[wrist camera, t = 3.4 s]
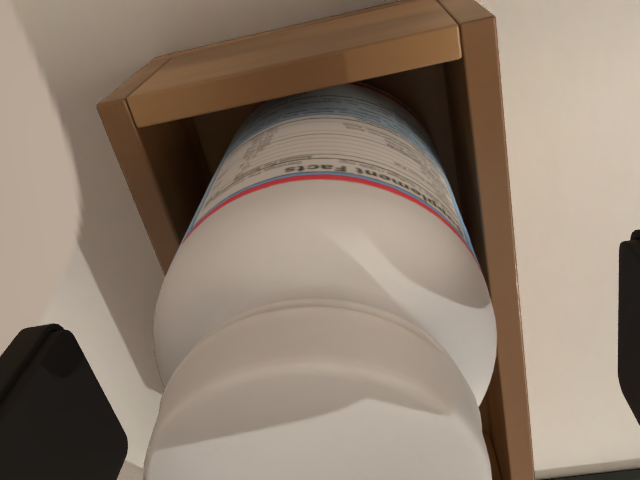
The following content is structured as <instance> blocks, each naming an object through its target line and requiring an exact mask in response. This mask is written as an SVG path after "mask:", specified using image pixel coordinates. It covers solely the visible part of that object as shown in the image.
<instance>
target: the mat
mask: <svg viewBox="0 0 640 480" xmlns="http://www.w3.org/2000/svg"><path fill="white" fill-rule="evenodd" d="M551 480H640V469H637V470H628V471H620V472H611V473H602V474H594V475H585V476H576V477H568V478H559V479H551Z"/></svg>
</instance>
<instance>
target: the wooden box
mask: <svg viewBox="0 0 640 480" xmlns="http://www.w3.org/2000/svg"><path fill="white" fill-rule="evenodd" d="M356 81H359V82H363V83H366V84H369V85H372V86H374V87H377V88H379V89H381V90H383V91H385V92H387V93H389V94H391V95H392V96H394V97H395V98H397V99H399V100H400V101H401V102H402V103H404V104H405V105H406V106H407V107H408V108H410V109H411V110H412V111H413V112H414V113H415V114H416V115H417V117H418V118H419V119H420V120H421V122H422V123H423V124H424V126H425V127H426V129H427V131H428V132H429V134H430V136H431V138H432V140H433V142H434V144H435V147H436V149H437V152H438V155H439V156H440V159H441V162H442V165H443V168H444V171H445V173H446V176H447V179H448V181H449V183H450V186H451V190H452V193H453V195H454V198H455V201H456V204H457V206H458V209H459V212H460V215H461V217H462V220H463V223H464V225H465V227H466V229H467V232H468V235H469V238H470V241H471V245H472V247H473V250H474V253H475V255H476V258H477V260H478V263H479V265H480V268H481V271H482V274H483V276H484V279H485V282H486V285H487V288H488V292H489V296H490V299H491V302H492V307H493V311H494V315H495V320H496V331H497V348H496V359H495V364H494V369H493V373H492V376H491V380H490V383H489V386H488V388H487V391H486V393H485V395H484V397H483V400H482V402H481V404H480V405H479V411H480V416H481V423H482V434H483V438H484V441H485V444H486V448H487V452H488V456H489V460H490V465H491V474H492V480H535V474H534V462H533V451H532V439H531V427H530V415H529V404H528V392H527V380H526V368H525V357H524V345H523V333H522V321H521V310H520V298H519V286H518V274H517V263H516V251H515V239H514V227H513V216H512V204H511V192H510V180H509V169H508V157H507V145H506V133H505V122H504V110H503V98H502V86H501V75H500V63H499V51H498V39H497V28H496V18H495V16H494V15H493V14H491V13H490V12H489V11H488V10H486V9H485V8H484V7H482V6H481V5H480V4H478V3H477V2H476V1H474V0H401V1H397V2H393V3H388V4H384V5H380V6H375V7H371V8H367V9H362V10H358V11H354V12H349V13H345V14H341V15H336V16H332V17H328V18H323V19H319V20H315V21H311V22H306V23H302V24H298V25H293V26H289V27H285V28H280V29H276V30H272V31H267V32H263V33H259V34H254V35H250V36H246V37H241V38H237V39H233V40H228V41H224V42H220V43H216V44H211V45H207V46H203V47H198V48H194V49H190V50H185V51H181V52H177V53H172V54H168V55H164V56H159V57H156V58H154V59H153V60H152V61H151V62H150V63H148V64H147V65H146V66H145V67H143V68H142V69H141V70H140V71H138V72H137V73H136V74H135V75H133V76H132V77H131V78H130V79H128V80H127V81H126V82H125V83H123V84H122V85H121V86H120V87H118V88H117V89H116V90H115V91H113V92H112V93H111V94H110V95H108V96H107V97H106V98H105V99H103V100H102V101H101V102H100V103H98V104H97V110H98V113H99V115H100V118H101V120H102V122H103V125H104V127H105V130H106V132H107V135H108V137H109V140H110V142H111V145H112V147H113V149H114V152H115V154H116V157H117V159H118V162H119V164H120V167H121V169H122V172H123V174H124V176H125V179H126V181H127V184H128V186H129V189H130V191H131V194H132V196H133V199H134V201H135V203H136V206H137V208H138V211H139V213H140V216H141V218H142V221H143V223H144V226H145V228H146V230H147V233H148V235H149V238H150V240H151V243H152V245H153V248H154V250H155V253H156V255H157V257H158V260H159V262H160V265H161V267H162V270H163V272H164V275H165V276H166V274H167V272H168V269H169V267H170V265H171V263H172V260H173V258H174V256H175V254H176V252H177V250H178V248H179V246H180V244H181V242H182V240H183V238H184V236H185V234H186V232H187V230H188V228H189V226H190V224H191V221H192V219H193V217H194V215H195V213H196V211H197V209H198V207H199V205H200V203H201V201H202V199H203V197H204V194H205V192H206V190H207V188H208V186H209V184H210V182H211V180H212V178H213V176H214V174H215V172H216V170H217V168H218V166H219V164H220V162H221V160H222V158H223V157H224V154H225V152H226V150H227V148H228V146H229V144H230V142H231V140H232V139H233V137H234V135H235V133H236V131H237V129H238V127H239V126H240V124H241V123H242V121H243V120H244V119H245V117H246V116H247V115H248V114H249V112H250V111H251V110H252V109H253V108H254V107H255V106H256V105H257V104H258V103H260V102H263V101H268V100H272V99H277V98H282V97H286V96H291V95H296V94H300V93H305V92H310V91H314V90H319V89H323V88H328V87H333V86H337V85H342V84H347V83H351V82H356Z"/></svg>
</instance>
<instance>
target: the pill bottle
mask: <svg viewBox="0 0 640 480" xmlns="http://www.w3.org/2000/svg"><path fill="white" fill-rule="evenodd" d="M153 340H154V353H155V357H156V362H157V367H158V370H159V373H160V376H161V380H162V383H163V385H164V387H165V391H164V393H163V396H162V399H161V403H160V409H159V414H158V417H157V420H156V423H155V426H154V429H153V432H152V436H151V439H150V442H149V445H148V448H147V452H146V457H145V461H144V475H143V480H492V474H491V465H490V460H489V456H488V452H487V448H486V444H485V441H484V438H483V434H482V423H481V416H480V411H479V405H480V404H481V402H482V400H483V397H484V395H485V393H486V391H487V388H488V386H489V383H490V380H491V376H492V373H493V369H494V364H495V359H496V348H497V331H496V320H495V315H494V311H493V307H492V302H491V299H490V296H489V292H488V288H487V285H486V282H485V279H484V276H483V274H482V271H481V268H480V265H479V263H478V260H477V258H476V255H475V253H474V250H473V247H472V245H471V241H470V238H469V235H468V232H467V229H466V227H465V225H464V223H463V220H462V217H461V215H460V212H459V209H458V206H457V204H456V201H455V198H454V195H453V193H452V190H451V186H450V183H449V181H448V179H447V176H446V173H445V171H444V168H443V165H442V162H441V159H440V156H439V155H438V152H437V149H436V147H435V144H434V142H433V140H432V138H431V136H430V134H429V132H428V131H427V129H426V127H425V126H424V124H423V123H422V122H421V120H420V119H419V118H418V117H417V115H416V114H415V113H414V112H413V111H412V110H411V109H410V108H408V107H407V106H406V105H405V104H404V103H402V102H401V101H400V100H399V99H397V98H395V97H394V96H392V95H391V94H389V93H387V92H385V91H383V90H381V89H379V88H377V87H374V86H372V85H369V84H366V83H363V82H359V81H356V82H351V83H347V84H342V85H337V86H333V87H328V88H323V89H319V90H314V91H310V92H305V93H300V94H296V95H291V96H286V97H282V98H277V99H272V100H268V101H263V102H260V103H258V104H257V105H256V106H255V107H254V108H253V109H252V110H251V111H250V112H249V114H248V115H247V116H246V117H245V119H244V120H243V121H242V123H241V124H240V126H239V127H238V129H237V131H236V133H235V135H234V137H233V139H232V140H231V142H230V144H229V146H228V148H227V150H226V152H225V154H224V157H223V158H222V160H221V162H220V164H219V166H218V168H217V170H216V172H215V174H214V176H213V178H212V180H211V182H210V184H209V186H208V188H207V190H206V192H205V194H204V197H203V199H202V201H201V203H200V205H199V207H198V209H197V211H196V213H195V215H194V217H193V219H192V221H191V224H190V226H189V228H188V230H187V232H186V234H185V236H184V238H183V240H182V242H181V244H180V246H179V248H178V250H177V252H176V254H175V256H174V258H173V260H172V263H171V265H170V267H169V269H168V272H167V274H166V276H165V279H164V282H163V284H162V286H161V290H160V293H159V296H158V300H157V303H156V310H155V316H154V326H153Z"/></svg>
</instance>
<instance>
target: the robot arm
mask: <svg viewBox="0 0 640 480" xmlns="http://www.w3.org/2000/svg"><path fill="white" fill-rule="evenodd" d="M618 378H619V383H620V387H621V390H622V392H623V395H624V397H625V399H626V401H627V402H628V404H629V406H630V408H631V410H632V412H633V414H634V416H635V418H636V419H637V421H638V423H639V425H640V230H635V231H634V232H632V235H631V239H630V241H623V242H622V243H621V244H620V247H619V309H618ZM127 450H128V441H127V436H126V434H125V432H124V430H123V428H122V426H121V424H120V422H119V420H118V418H117V417H116V415H115V413H114V411H113V409H112V407H111V405H110V403H109V401H108V399H107V398H106V396H105V394H104V392H103V390H102V388H101V386H100V384H99V382H98V380H97V379H96V377H95V375H94V373H93V371H92V369H91V367H90V365H89V363H88V361H87V359H86V358H85V356H84V354H83V352H82V350H81V348H80V346H79V344H78V342H77V340H76V339H75V337H74V335H73V334H72V333H71V332H70V331H69V330H64V329H63V327H61V326H60V325H59V324H48V325H42V326H36V327H30V328H25V329H23V330H21V331H20V332H19V333H18V335H17V336H16V337H15V338H14V340H13V341H12V342H11V344H10V345H9V346H8V348H7V349H6V350H5V351H4V353H3V354H2V355H1V357H0V480H117V477H118V475H119V472H120V470H121V468H122V465H123V463H124V460H125V458H126V455H127Z"/></svg>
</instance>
